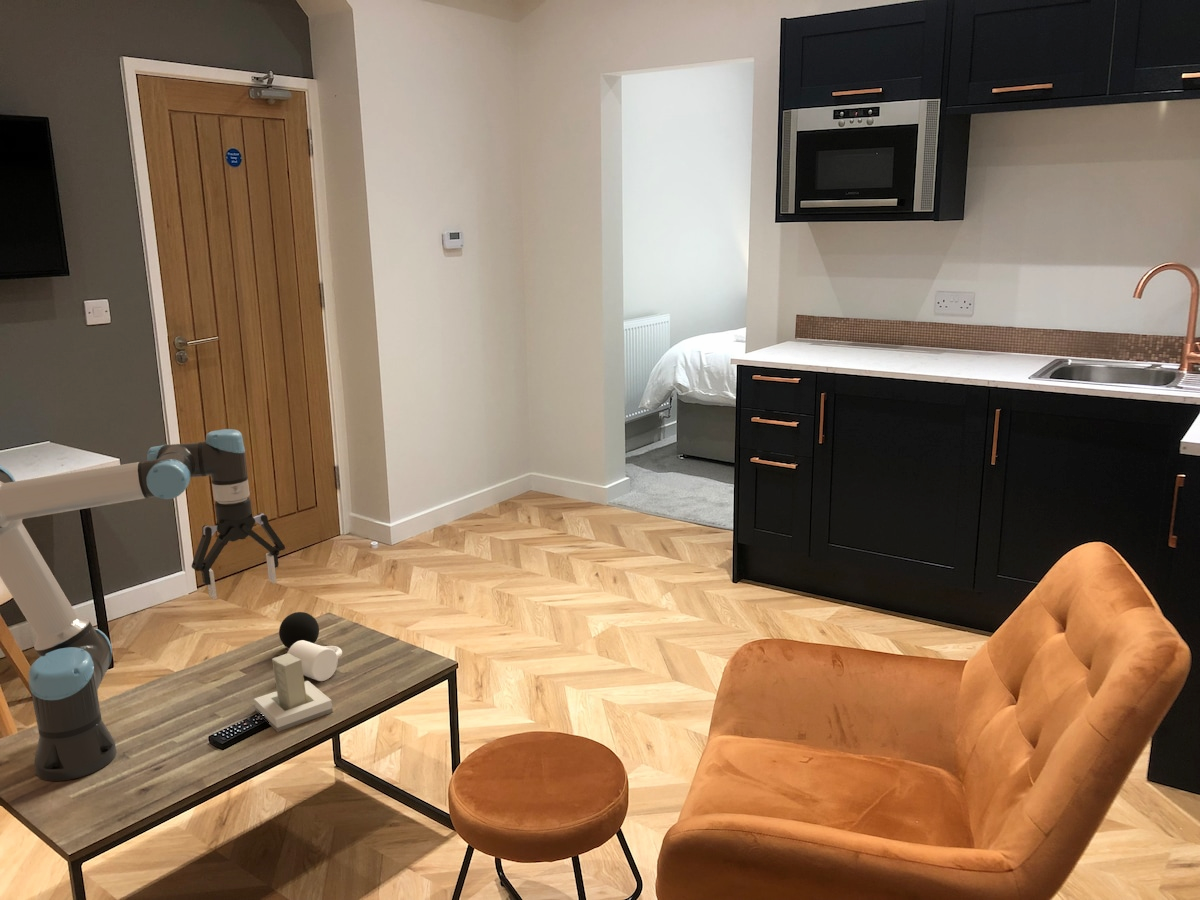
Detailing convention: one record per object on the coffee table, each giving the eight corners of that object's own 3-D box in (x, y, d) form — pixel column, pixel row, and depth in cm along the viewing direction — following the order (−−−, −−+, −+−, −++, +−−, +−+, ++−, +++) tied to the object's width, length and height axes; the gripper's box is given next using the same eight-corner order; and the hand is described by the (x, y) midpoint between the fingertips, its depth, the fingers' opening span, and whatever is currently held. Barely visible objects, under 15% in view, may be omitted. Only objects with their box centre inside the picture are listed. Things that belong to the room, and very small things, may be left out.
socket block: (277, 732, 215) (276, 719, 214) (255, 710, 224) (254, 698, 224) (332, 712, 223) (331, 700, 222) (309, 692, 232) (307, 680, 232)
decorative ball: (302, 638, 263) (298, 603, 260) (328, 645, 257) (325, 610, 255) (273, 652, 254) (268, 616, 252) (299, 660, 249) (295, 624, 247)
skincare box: (308, 708, 222) (302, 659, 219) (290, 715, 219) (284, 666, 216) (295, 699, 227) (289, 651, 224) (277, 706, 224) (271, 658, 221)
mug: (314, 686, 235) (310, 656, 233) (287, 676, 241) (283, 647, 239) (351, 667, 245) (349, 637, 243) (325, 658, 250) (322, 629, 248)
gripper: (179, 515, 205) (192, 609, 210) (293, 491, 220) (302, 579, 225) (168, 507, 210) (181, 599, 215) (280, 485, 226) (289, 571, 231)
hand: (243, 589), depth 220 cm, fingers open, 13 cm apart
